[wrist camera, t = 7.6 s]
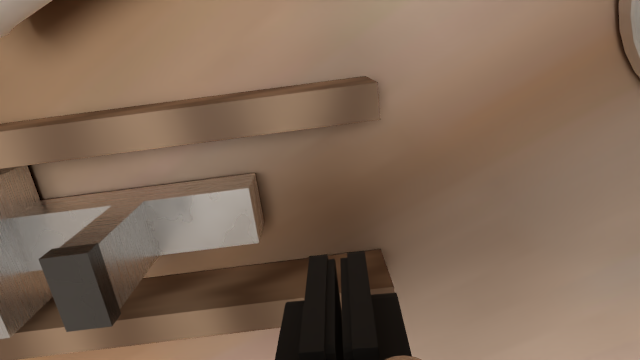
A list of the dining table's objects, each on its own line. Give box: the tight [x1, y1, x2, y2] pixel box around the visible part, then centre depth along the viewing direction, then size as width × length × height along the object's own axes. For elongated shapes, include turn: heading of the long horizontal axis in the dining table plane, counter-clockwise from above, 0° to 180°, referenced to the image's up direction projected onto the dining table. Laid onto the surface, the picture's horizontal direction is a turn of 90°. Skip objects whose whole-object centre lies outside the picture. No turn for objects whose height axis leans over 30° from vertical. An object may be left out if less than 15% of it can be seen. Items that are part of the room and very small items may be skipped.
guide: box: [0, 76, 394, 360], centre depth 21 cm, size 28×12×5 cm, turn 97°
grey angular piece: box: [0, 165, 264, 339], centre depth 19 cm, size 13×7×8 cm, turn 97°
